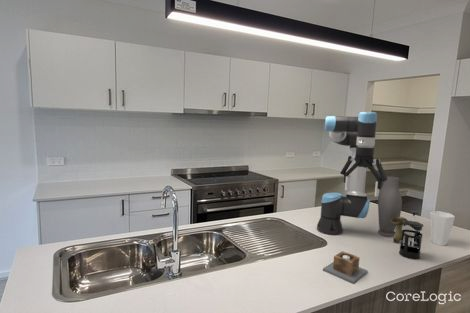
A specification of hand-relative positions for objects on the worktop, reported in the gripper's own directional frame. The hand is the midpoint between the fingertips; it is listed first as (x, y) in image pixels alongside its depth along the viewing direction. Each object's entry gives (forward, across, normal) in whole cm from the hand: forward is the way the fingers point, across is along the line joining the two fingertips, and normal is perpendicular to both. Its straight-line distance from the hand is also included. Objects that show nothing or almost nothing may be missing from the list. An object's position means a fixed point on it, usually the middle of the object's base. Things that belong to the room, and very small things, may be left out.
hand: (361, 192), depth 133 cm
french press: (+35, +14, +32) cm, 49 cm away
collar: (+34, 0, -10) cm, 35 cm away
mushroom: (+35, +4, +44) cm, 56 cm away
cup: (+35, +20, +62) cm, 74 cm away
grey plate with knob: (+35, 0, -10) cm, 36 cm away
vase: (+35, -5, +53) cm, 64 cm away
